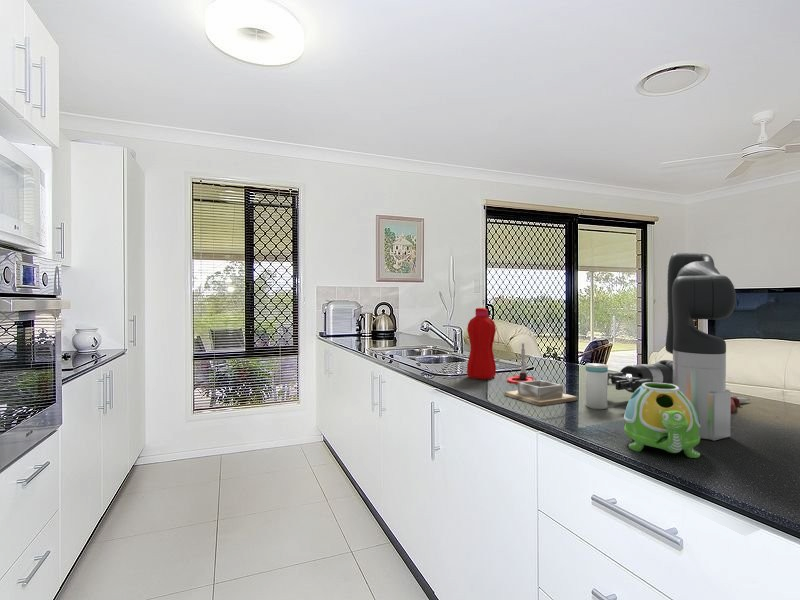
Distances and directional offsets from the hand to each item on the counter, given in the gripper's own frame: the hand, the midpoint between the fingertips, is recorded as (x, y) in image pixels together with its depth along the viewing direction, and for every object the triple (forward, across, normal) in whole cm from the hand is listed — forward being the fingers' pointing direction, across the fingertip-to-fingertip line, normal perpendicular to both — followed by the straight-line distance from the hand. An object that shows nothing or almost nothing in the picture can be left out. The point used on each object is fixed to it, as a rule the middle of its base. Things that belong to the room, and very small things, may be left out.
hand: (602, 382), depth 114 cm
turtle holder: (+19, +28, +6) cm, 35 cm away
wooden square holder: (+8, -14, +6) cm, 17 cm away
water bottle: (+3, -46, +6) cm, 47 cm away
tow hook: (-4, -35, +6) cm, 36 cm away
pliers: (-29, +15, +7) cm, 33 cm away
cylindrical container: (+2, 0, +6) cm, 6 cm away
